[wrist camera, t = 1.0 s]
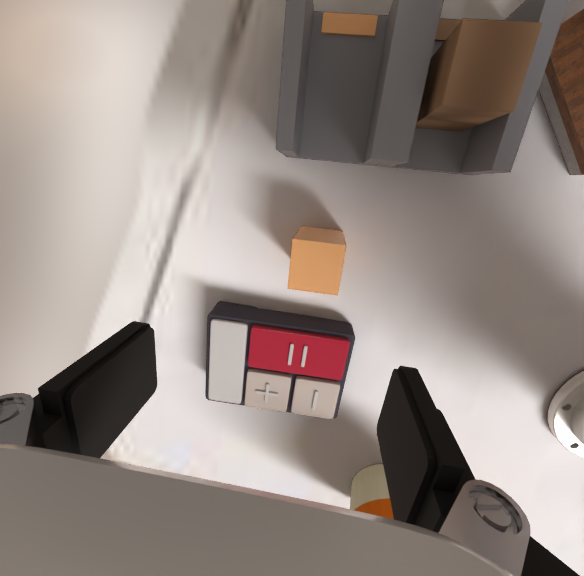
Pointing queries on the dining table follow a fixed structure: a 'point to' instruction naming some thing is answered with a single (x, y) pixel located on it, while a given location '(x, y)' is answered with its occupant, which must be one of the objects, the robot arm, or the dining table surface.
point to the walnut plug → (477, 73)
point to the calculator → (277, 360)
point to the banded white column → (567, 87)
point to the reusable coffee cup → (371, 492)
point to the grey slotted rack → (391, 89)
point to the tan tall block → (317, 260)
